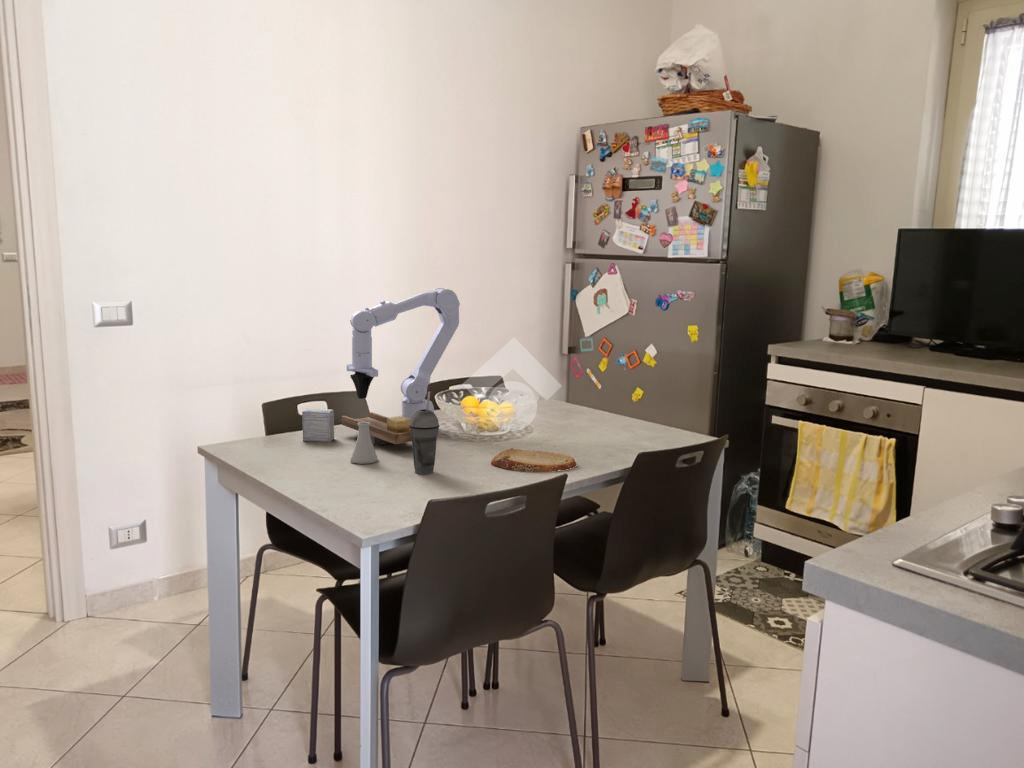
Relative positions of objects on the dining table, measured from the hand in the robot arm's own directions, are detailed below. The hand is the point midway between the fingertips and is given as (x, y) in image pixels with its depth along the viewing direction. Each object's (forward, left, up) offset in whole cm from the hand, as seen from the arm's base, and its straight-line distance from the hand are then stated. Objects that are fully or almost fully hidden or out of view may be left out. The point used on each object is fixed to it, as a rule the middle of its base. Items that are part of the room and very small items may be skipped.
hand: (362, 398), depth 236 cm
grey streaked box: (+15, +1, -11) cm, 18 cm away
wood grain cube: (+2, +23, -6) cm, 23 cm away
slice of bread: (-15, +58, -11) cm, 61 cm away
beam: (+2, +15, -7) cm, 17 cm away
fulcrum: (+2, +15, -10) cm, 18 cm away
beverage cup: (+11, +47, -11) cm, 49 cm away
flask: (+17, +29, -11) cm, 35 cm away
